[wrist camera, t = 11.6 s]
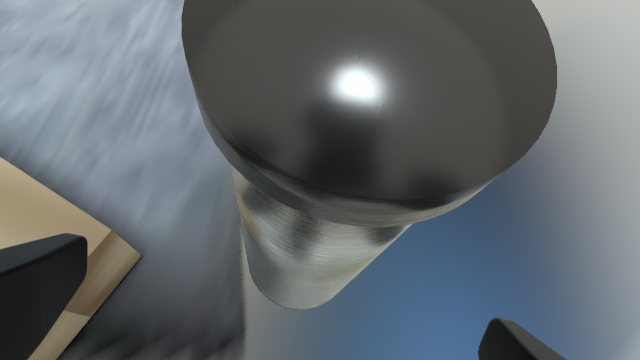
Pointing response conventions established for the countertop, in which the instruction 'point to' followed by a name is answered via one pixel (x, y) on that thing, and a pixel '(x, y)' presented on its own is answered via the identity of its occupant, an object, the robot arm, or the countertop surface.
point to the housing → (52, 219)
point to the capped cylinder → (361, 120)
